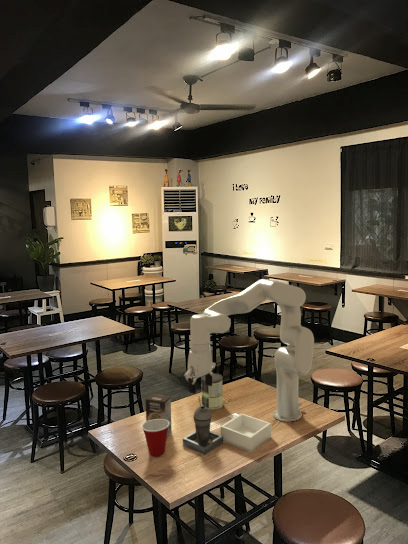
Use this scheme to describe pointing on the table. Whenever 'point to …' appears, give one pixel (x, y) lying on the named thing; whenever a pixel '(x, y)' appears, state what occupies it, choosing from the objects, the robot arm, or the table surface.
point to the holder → (190, 443)
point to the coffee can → (212, 392)
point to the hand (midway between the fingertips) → (200, 389)
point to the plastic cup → (156, 436)
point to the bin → (246, 432)
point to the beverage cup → (202, 424)
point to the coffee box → (159, 409)
